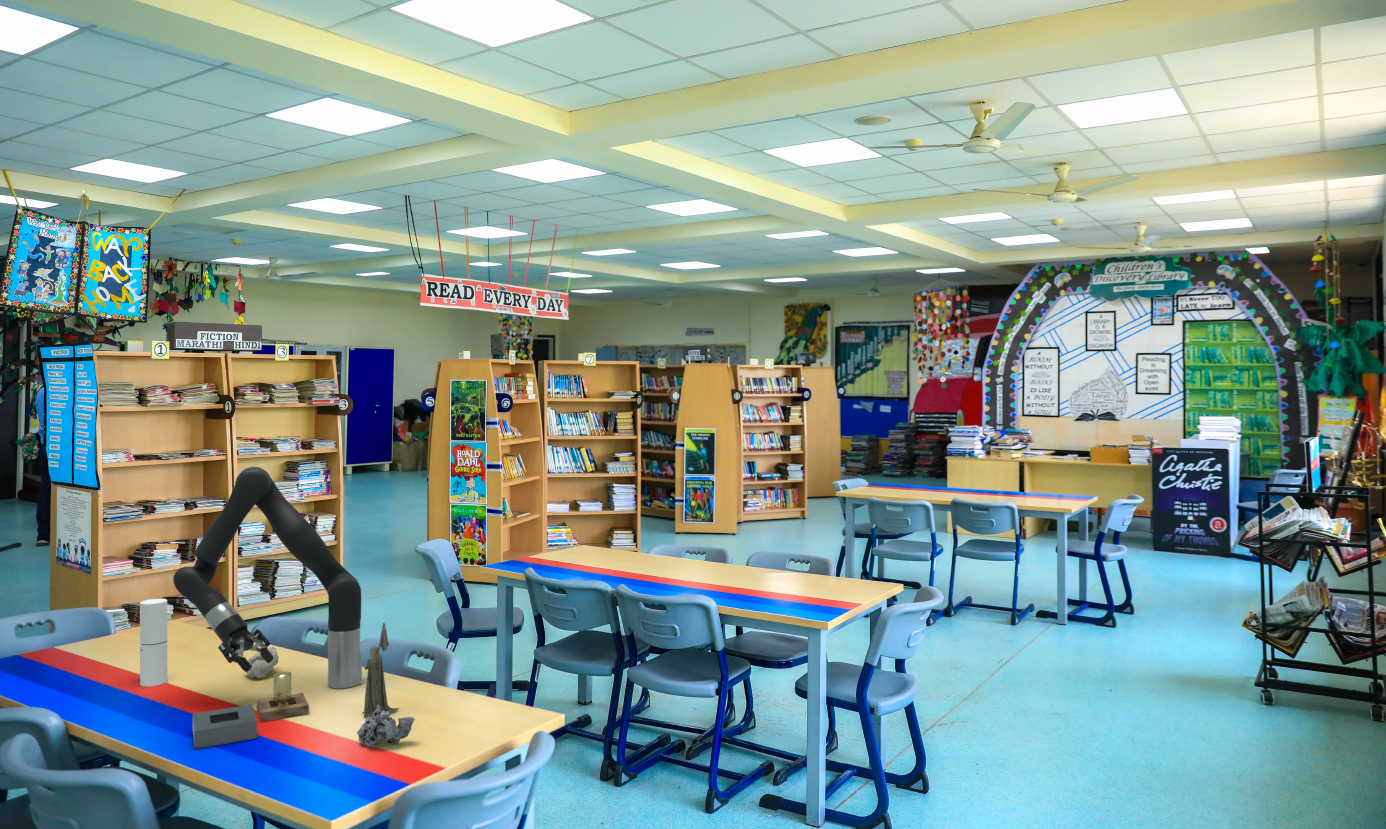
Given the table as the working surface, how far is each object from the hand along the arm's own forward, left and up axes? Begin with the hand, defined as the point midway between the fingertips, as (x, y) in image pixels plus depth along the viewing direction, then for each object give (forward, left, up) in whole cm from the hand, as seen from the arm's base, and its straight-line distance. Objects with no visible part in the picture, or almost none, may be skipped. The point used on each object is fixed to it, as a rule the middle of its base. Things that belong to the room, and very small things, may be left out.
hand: (260, 665), depth 248 cm
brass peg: (-5, +5, -12) cm, 14 cm away
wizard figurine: (-28, +19, -13) cm, 36 cm away
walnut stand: (-5, +5, -12) cm, 14 cm away
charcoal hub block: (+10, +16, -12) cm, 23 cm away
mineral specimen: (-24, +42, -13) cm, 50 cm away
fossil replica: (-3, -33, -13) cm, 35 cm away
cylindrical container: (+26, -41, -12) cm, 50 cm away
